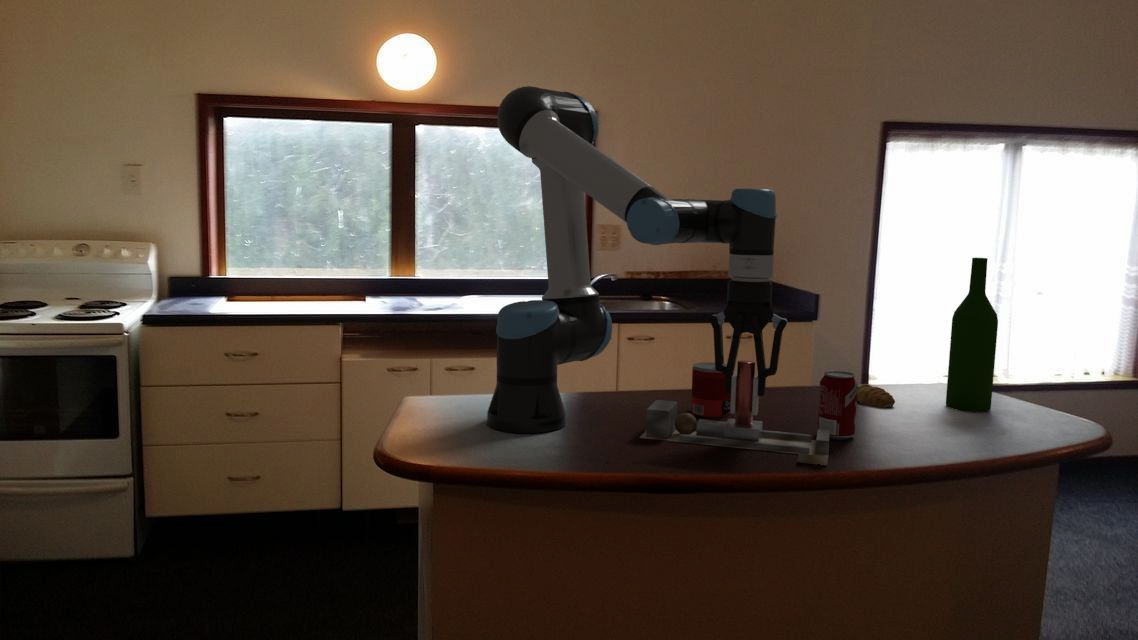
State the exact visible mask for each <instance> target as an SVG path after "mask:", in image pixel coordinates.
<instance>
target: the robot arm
mask: <svg viewBox="0 0 1138 640" xmlns="http://www.w3.org/2000/svg"><path fill="white" fill-rule="evenodd" d="M498 106H499V107H498V110H497V115H496V120H497V121H496V124H497V127H498V131H499V133H500V134H501V137H502V138H503V139H504V140H505V142H506V143H508V145H510V146H511V147H512V148H514V149H515V150H516V151H518V152H519V153H521V154H522V155H523V156H524V157H526V158H529V159H531V163H533V164H534V166H535V167H537V168H538V169H539V174H540V175H539V176H540V186H541V189H540V190H541V199H542V201H541V203H542V215H543V229H544V239H545V240H544V243H545V256H546V258H545V259H546V267H547V268H546V269H547V282H548V283H547V284H548V289H547V290H546V291H545V293H544V294H543V295H542V297H541V299H532V300H531V299H530V300H528V301H526V300H525V301H524V300H522V301H516V302H512V303H509V304H506V305H504V306H503V307H501V308H500V310H499V311H498V314H497V321H496V323H497V324H496V327H495V333H496V385H495V389H494V392H493V394H492V397H491V401H490V404H489V406H488V410H487V413H486V414H487V415H486V416H487V417H486V419H487V421H486V422H487V423H486V424H487V425H488V427H489V428H491V429H494V430H497V431H501V432H506V431H507V433H515V434H538V433H539V434H540V433H547V432H552V431H553V432H554V431H556V430H559V429H562V428H563V427H565V426H566V422H567V421H566V418H567V417H566V415H567V413H566V409H565V406H564V403H563V400H562V396H561V393H560V390H559V387H558V366H559V365H564V364H567V363H573V362H584V361H586V360H589V359H591V358H594V357H596V356H598V355H600V354H601V353H602V352H603V351H604V350H605V349H606V348H607V346H608V345H609V343H610V342H611V339H612V334H613V323H612V321H613V320H612V316H611V315H610V313H609V311H607V310H606V307H605V306H604V305H602V304H601V303H600V293H599V292H598V291H597V290H596V289H595V288H594V287H593V286H592V285H591V271H590V258H589V257H590V256H589V254H590V253H589V243H588V241H589V240H588V229H587V227H588V226H587V213H586V198H585V194H586V195H588V196H589V197H590V198H592V199H593V200H595V201H596V202H597V203H598V204H599V205H601V206H603V207H604V208H605V209H607V210H608V211H610V212H611V214H612V213H613V215H615V216H617V217H618V218H619V219H621V220H622V221H623V222H624V223H626V226H627V229H628V231H629V233H630V236H631V237H632V238H633V239H634V240H635V241H637V242H639V243H641V244H646V245H652V246H661V245H668V244H690V243H691V244H693V243H694V244H695V243H696V244H697V243H704V244H705V243H707V244H709V243H711V244H728V246H729V247H728V248H729V249H728V250H729V251H728V270H727V271H728V273H727V275H728V277H730V279H729V280H728V281H727V291H726V292H727V294H726V295H727V296H726V305H725V306H724V309H723V311H722V312H720V313H717V314H716V313H715V314H712V315H710V316H709V321H710V324H711V326H712V330H713V346H714V347H713V349H714V363H715V369H716V371H720V372H722V373H724V374H725V376H726V380H725V391H726V393H731V408H730V413H731V414H734V415H735V411H736V388H737V373H734V372H735V368H736V363H737V358H738V353H739V348H740V343H741V339H742V335H743V334H745V333H748V334H752V336H753V341H754V342H753V343H754V350H755V361H756V370H757V375H755V377H754V380H753V402H752V415H753V416H757V415H758V412H759V399H760V397H764V395H765V393H766V385H767V384H766V383H767V378H768V377H770V376H775V375H776V374H777V371H778V367H779V360H780V359H779V358H780V352H781V345H782V339H783V338H782V337H783V331H784V330H785V328H786V326H787V324H788V323H789V321H788V319H787V318H786V317H781V316H779V315H777V314H775V311H774V309H773V307H772V303H773V302H772V301H773V282H772V281H771V280H770V279H771V278H773V277H774V275H773V274H774V261H775V259H774V258H775V254H774V248H775V247H774V246H775V232H776V219H777V217H778V216H777V215H778V214H777V205H776V203H777V202H776V200H777V196H776V193H775V192H774V191H773V190H772V189H769V188H735V189H733V190H732V191H731V196H730V199H725V200H721V199H720V200H718V199H695V198H692V199H691V198H685V199H683V198H670V197H668V196H667V195H666V194H665V193H662V192H661V191H659V189H657V188H655V187H654V186H653V185H651V184H649V183H648V182H646V181H645V180H643V179H642V178H641V177H640V176H638V175H636V174H635V173H634V172H632V171H631V170H629V169H628V168H626V167H625V166H623V165H622V164H620V163H619V162H618V161H617V160H614V159H613V158H611V157H610V156H608V155H607V154H606V153H605V152H603V151H601V150H600V149H599V148H597V147H595V146H594V144H595V142H594V141H595V140H596V139H597V137H598V133H599V120H598V116H597V115H598V114H597V113H596V111H595V109H594V107H593V106H592V104H591V103H590V102H589V101H588V100H587V99H586V98H584V97H582V96H580V95H577V94H575V93H572V92H569V91H560V90H554V89H553V90H552V89H548V88H540V87H537V86H530V85H527V86H521V87H517V88H516V89H513V90H511V91H510V92H509V93H508V94H507V95H506V96H504V98H503V99H502V100H501V102H500V104H499V105H498ZM725 319H726V321H728V324H729V325H730V326H731V327H732V329H733V332H732V338H731V341H730V342H731V343H730V348H729V352H728V358H727V363H725V358H724V355H725V353H724V337H723V325H724V323H725ZM770 321H772V328H773V329H775V330H774V334H773V339H772V346H771V354H770V360H769V361H770V362H769V366H768V367H767V365H766V355H765V348H764V347H765V346H764V339H763V337H764V336H763V330H764V329H765V327H766V326H767V325H768V324H769V323H770ZM725 364H727V365H725Z"/></svg>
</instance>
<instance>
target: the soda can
mask: <svg viewBox="0 0 1138 640" xmlns="http://www.w3.org/2000/svg"><path fill="white" fill-rule="evenodd" d="M855 377H856V375H855V373H853V372H850V371H843V370H826V371H824V372H823V376H822V378H821V379H820V380H819V391H818V407H817V408H818V409H817V426H816V432H818V428H819V429H830V436H829V440H834V439H835V441H838V440H839V441H841V440H842V441H843V440H844V441H845V440H848V439H850V438H853V437H854V436H855V434H856V421H857V420H856V419H857V405H858V403H857V402H858V401H857V390H858V387H859V386H858V385H859V384H858V382H857V380H856V378H855Z"/></svg>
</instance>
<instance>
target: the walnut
mask: <svg viewBox="0 0 1138 640" xmlns="http://www.w3.org/2000/svg"><path fill="white" fill-rule="evenodd" d="M697 422H698V420H697V418H696V417H695V416H694V414H693V413H690V412H682V413H679V414H677V417H676V419H675V428H676V430H677V431H678V432H679V433H680V434H686V435H689V434H692V433H693V432H694V431H695V430H696V427H697Z"/></svg>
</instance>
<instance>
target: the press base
mask: <svg viewBox="0 0 1138 640" xmlns="http://www.w3.org/2000/svg"><path fill="white" fill-rule="evenodd" d="M678 404H679V402H678V401H676V400H675V401H674V400H661V399H656V400H655V401H653V403H652V404H651V405H650V406H648V407H647V408H646V427H645V431H644V432H643V433H642V434H641V435H640V436H639V439H647V440H648V439H649V440H655V441H656V440H659V441H665V442H666V441H667V442H677V443H687V444H698V445H708V446H718V447H726V448H735V449H736V448H737V449H748V450H756V451H763V452H765V451H766V452H776V453H783V454H784V453H786V454H793V455H794V454H795V455H796V454H797V460H796V463H799V462H800V464H809V465H818V464H820V466H828V464H829V463H828V459H829V451H830V449H829V448H830V439H829V436H830V429H819V428H818V432H817V431H816V432H817V433H816V439H813V438H812V437H813V436H812V434H809V433H808V434H807V433H806V434H805V433H797V432H787V431H777V430H776V431H775V430H765V429H762V439H761V441H760V442H757V441H746V440H736V439H726V438H716V437H706V436H696V431H697V427H696V430H695V431H694V432H693V433H692V434H689V435H686V434H680V433H679V432H678V431H677V430H676V428H675V419H676V417H677V416H678V409H679V406H678Z"/></svg>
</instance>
